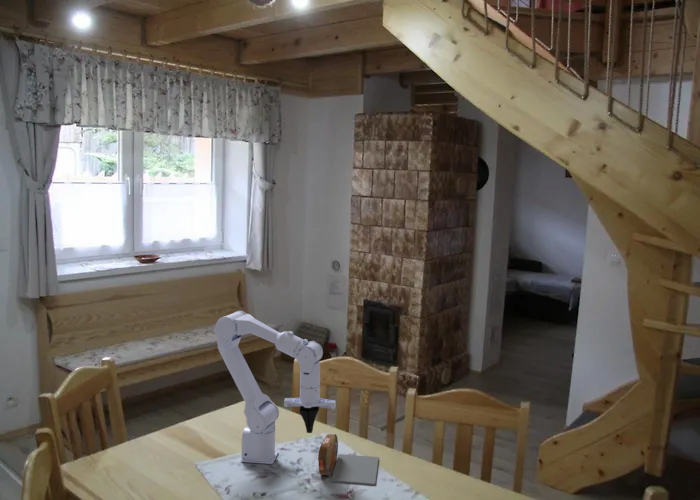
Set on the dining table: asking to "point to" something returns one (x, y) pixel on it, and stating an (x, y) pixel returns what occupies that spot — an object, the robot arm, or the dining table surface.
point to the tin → (328, 454)
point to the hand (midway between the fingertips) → (309, 431)
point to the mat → (355, 469)
